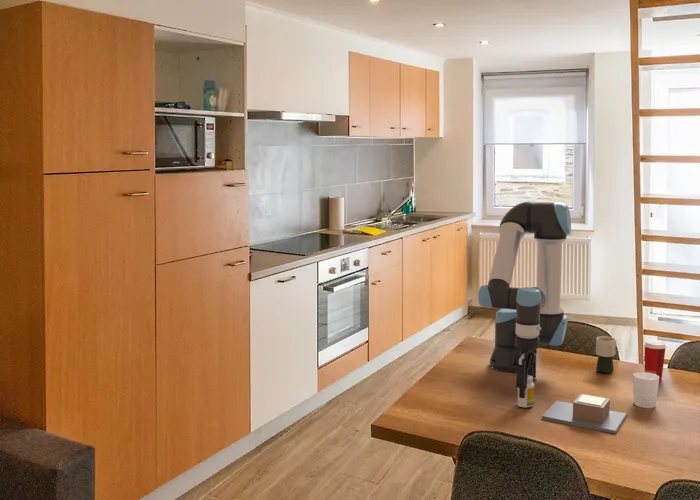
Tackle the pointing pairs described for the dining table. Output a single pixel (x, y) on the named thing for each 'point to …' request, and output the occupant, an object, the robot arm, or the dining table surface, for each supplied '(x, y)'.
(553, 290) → the robot arm
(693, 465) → the dining table surface
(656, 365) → the paper cup
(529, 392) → the supplement bottle
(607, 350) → the character mug
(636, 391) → the white cup
